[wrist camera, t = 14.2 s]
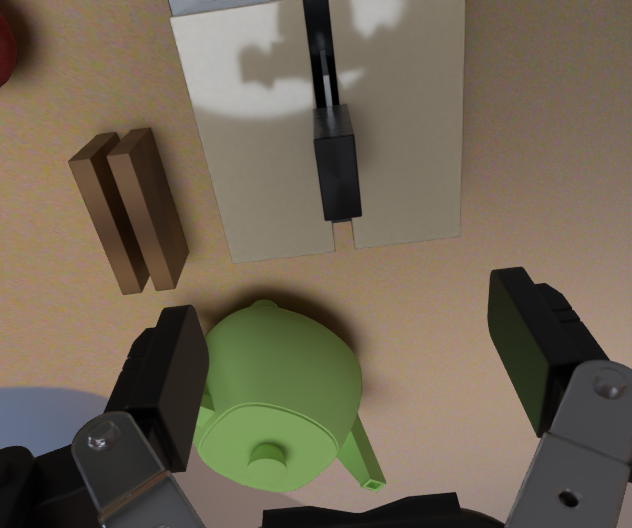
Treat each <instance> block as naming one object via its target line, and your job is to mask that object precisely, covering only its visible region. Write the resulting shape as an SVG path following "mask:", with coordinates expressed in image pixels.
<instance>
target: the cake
mask: <svg viewBox="0 0 632 528" xmlns="http://www.w3.org/2000/svg"><path fill="white" fill-rule="evenodd" d="M168 2H169V6H170V10H171V14H172V16H171V17H169V20H170V24H171V28H172V31H173V35H174V39H175V43H176V47H177V51H178V54H179V58H180V62H181V66H182V70H183V74H184V78H185V81H186V85H187V89H188V93H189V97H190V101H191V104H192V108H193V112H194V116H195V120H196V124H197V127H198V131H199V135H200V139H201V143H202V147H203V150H204V154H205V158H206V162H207V166H208V170H209V174H210V177H211V181H212V185H213V189H214V193H215V197H216V200H217V204H218V208H219V212H220V216H221V220H222V223H223V227H224V231H225V235H226V239H227V243H228V246H229V250H230V254H231V258H232V262H233V264H238V263H246V262H254V261H263V260H271V259H279V258H287V257H296V256H304V255H312V254H321V253H329V252H335V242H334V231H333V223H338V222H346V221H351V227H352V233H353V240H354V246H355V249H362V248H370V247H378V246H387V245H395V244H403V243H412V242H420V241H428V240H436V239H445V238H453V237H460V226H461V181H462V136H463V92H464V47H465V2H466V0H168ZM321 50H325V54H326V60H327V67H328V73H329V80H330V89H331V97H332V106H335V105H342V104H347V106H348V110H349V114H350V119H351V123H352V127H353V131H354V135H355V143H356V154H357V164H358V175H359V185H360V195H361V206H362V216H361V217H356V218H348V219H340V220H332V221H325V220H324V214H323V207H322V200H321V193H320V185H319V178H318V171H317V164H316V157H315V150H314V143H313V115H312V110H313V109H314V108H321V107H327V105H326V97H325V89H324V81H323V72H322V64H321V55H320V51H321Z"/></svg>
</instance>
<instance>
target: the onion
mask: <svg viewBox="0 0 632 528" xmlns="http://www.w3.org/2000/svg"><path fill="white" fill-rule="evenodd" d="M16 62H17V53H16V41H15V38H14V36H13V33H12V30H11V28H10V25H9V23H8V22H7V21H6V19H5V18H4V17H3V15H2V14H1V13H0V87H1V86H2V85H4V84H5V83H6V82H7V81H8V79H9V78H10V76H11V74H12V71H13V69H14V67H15V64H16Z"/></svg>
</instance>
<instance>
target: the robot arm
mask: <svg viewBox="0 0 632 528" xmlns="http://www.w3.org/2000/svg"><path fill="white" fill-rule="evenodd" d="M487 318H488V327H489V332H490V336H491V338H492V341H493V343H494V345H495V347H496V349H497V352H498V354H499V356H500V358H501V360H502V362H503V364H504V367H505V369H506V371H507V373H508V375H509V377H510V379H511V382H512V384H513V386H514V388H515V390H516V392H517V394H518V397H519V399H520V401H521V403H522V405H523V407H524V410H525V412H526V414H527V416H528V418H529V420H530V422H531V425H532V427H533V429H534V431H535V433H536V435H537V437H538V438H541V440H540V442H539V445H538V447H537V450H536V452H535V454H534V457H533V459H532V461H531V464H530V466H529V469H528V471H527V473H526V476H525V478H524V480H523V483H522V485H521V487H520V490H519V492H518V495H517V497H516V499H515V502H514V504H513V506H512V509H511V511H510V514H509V516H508V518H507V521H506V523H505V524H504V523H502V522H501V521H499V520H497V519H495V518H493V517H491V516H488V515H486V514H483V513H481V512H477V511H474V510H470V509H465V508H460V505H459V501H458V498H457V494H456V492H451V493H441V494H430V495H420V496H409V497H405V498H403V499H400V500H397V501H394V502H391V503H389V504H386V505H383V506H380V507H377V508H375V509H372V510H369V511H366V512H363V513H351V512H345V511H339V510H333V509H326V508H320V507H314V506H303V507H292V508H282V509H271V510H263V520H262V526H261V527H259V528H616V526H617V523H618V518H619V515H620V511H621V506H622V503H623V499H624V494H625V491H626V486H627V483H628V482H631V483H632V369H631V368H629V367H627V366H625V365H623V364H620V363H617V362H613V361H610V359H609V358H608V357H607V355H606V354H605V353H604V351H603V350H602V348H601V347H600V346H599V344H598V343H597V341H596V340H595V339H594V337H593V336H592V335H591V333H590V332H589V330H588V329H587V328H586V326H585V325H584V323H583V322H582V321H580V318H579V317H578V315H577V314H576V312H575V311H574V310H572V307H571V305H570V304H569V303H568V301H567V300H566V299H565V297H564V296H563V294H562V293H560V292H558V291H557V290H555V289H554V288H552V287H551V286H549V285H548V284H546V283H541V284H534V283H533V281H532V280H531V278H530V277H529V275H528V274H527V272H526V271H525V269H524V268H523V267H513V268H505V269H496V270H492V271H491V274H490V284H489V299H488V315H487ZM127 357H128V359H126V361H125V363H124V366H123V368H122V369H123V371H121V373H120V375H119V377H118V380H117V382H116V385H115V387H114V389H113V392H112V394H111V396H110V399H109V401H108V403H107V406H106V408H105V410H104V413H103V414H101V415H99V416H97V417H95V418H93V419H92V420H90V421H89V422H87V423H86V424H85V425H84V426H83V427H82V428H81V429H80V430H79V431H78V432H77V434H76V435H75V437H74V439H73V441H72V444H70V445H68V446H65V447H63V448H60V449H57V450H54V451H52V452H49V453H46V454H43V455H41V456H38V457H36V458H34V456H33V455H32V454H31V452H30V451H29V450H28V449H27V448H25V447H22V446H11V447H6V448H3V449H0V528H206V527H205V525H204V524H203V522H202V521H201V519H200V518H199V516H198V514H197V513H196V511H195V510H194V508H193V506H192V505H191V503H190V502H189V500H188V499H187V497H186V496H185V494H184V493H183V491H182V489H181V488H180V486H179V485H178V483H177V482H176V480H175V478H174V477H173V475H172V474H171V473H176V472H185V471H186V468H187V464H188V459H189V455H190V450H191V446H192V441H193V437H194V432H195V428H196V423H197V419H198V415H199V410H200V406H201V401H202V397H203V392H204V388H205V383H206V379H207V374H208V370H209V352H208V347H207V344H206V341H205V338H204V335H203V332H202V329H201V326H200V323H199V320H198V317H197V314H196V311H195V308H194V307H193V306H192V305H184V306H176V307H167V308H164V309H163V310H162V312H161V315H160V317H159V320H158V322H157V325H156V327H153V328H146V329H145V330H144V331H143V333H142V334H141V335H140V336H139V337H138V338H137V339H136V340H135V341H134V342H133V344H132V347H131V349H130V352H129V354H128V356H127Z"/></svg>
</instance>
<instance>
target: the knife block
mask: <svg viewBox="0 0 632 528" xmlns="http://www.w3.org/2000/svg"><path fill="white" fill-rule="evenodd" d="M68 163H69V166H70V168H71V170H72V173H73V175H74V178H75V180H76V183H77V185H78V187H79V190H80V192H81V195H82V197H83V199H84V202H85V204H86V207H87V209H88V212H89V214H90V216H91V219H92V221H93V224H94V226H95V228H96V231H97V233H98V236H99V238H100V241H101V243H102V245H103V248H104V250H105V253H106V255H107V257H108V260H109V262H110V265H111V267H112V270H113V272H114V274H115V277H116V279H117V282H118V284H119V286H120V289H121V291H122V294H123V295H127V294H135V293H142V291H143V289H144V287H145V285H146V283H147V281H148V278H149V276H151V279H152V281H153V284H154V287H155V290H156V291H162V290H170V289H175V288H176V285H177V283H178V280H179V277H180V275H181V272H182V270H183V267H184V264H185V262H186V259H187V256H188V254H189V251H188V247H187V244H186V241H185V238H184V234H183V231H182V228H181V225H180V222H179V218H178V215H177V212H176V209H175V205H174V202H173V199H172V196H171V193H170V189H169V186H168V183H167V180H166V177H165V173H164V170H163V167H162V164H161V160H160V157H159V154H158V151H157V148H156V144H155V141H154V138H153V135H152V131H151V128H144V129H136V130H131V131H130V132H129V133H128V134H127V135H126V136H125V137H124V138H123V139H122V140H121V141H120V142H119V140H118V137H117V134H116V133H108V134H101V135H96V136H95V137H94V138H93V139H92V140H91V141H90V142H89V143H88V144H87V145H85V146H84V147H83V148H82V149H81V150H80V151H79V152H78V153H77V154H76V155H74V156H73V157H72V158H71V159H70V160H69V161H68Z"/></svg>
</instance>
